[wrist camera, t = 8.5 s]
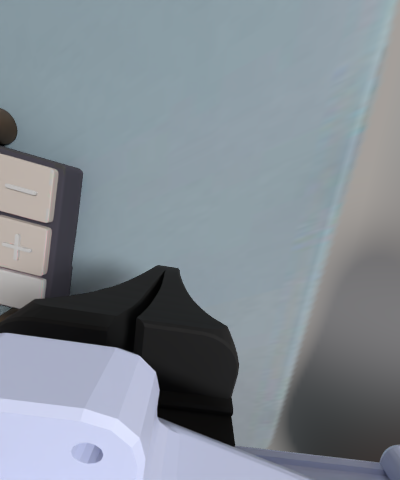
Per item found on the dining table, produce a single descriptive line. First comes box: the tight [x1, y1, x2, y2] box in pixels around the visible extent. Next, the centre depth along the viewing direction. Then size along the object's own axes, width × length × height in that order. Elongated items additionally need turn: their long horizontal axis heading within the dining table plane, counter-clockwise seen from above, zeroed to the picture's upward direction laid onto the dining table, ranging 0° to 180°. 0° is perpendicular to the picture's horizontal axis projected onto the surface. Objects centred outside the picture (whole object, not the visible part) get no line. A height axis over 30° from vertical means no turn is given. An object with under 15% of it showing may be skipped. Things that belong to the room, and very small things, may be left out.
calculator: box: [0, 146, 83, 309], centre depth 19 cm, size 11×4×15 cm
